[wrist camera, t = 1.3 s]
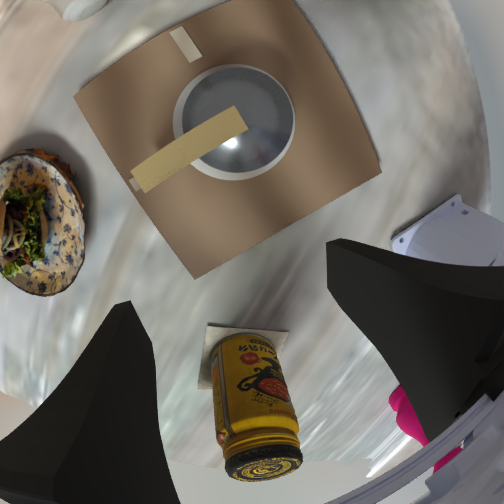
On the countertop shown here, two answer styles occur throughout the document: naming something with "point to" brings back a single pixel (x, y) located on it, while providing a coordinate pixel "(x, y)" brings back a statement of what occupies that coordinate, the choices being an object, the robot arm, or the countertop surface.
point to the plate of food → (40, 223)
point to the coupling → (225, 127)
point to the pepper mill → (415, 424)
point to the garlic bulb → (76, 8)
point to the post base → (213, 180)
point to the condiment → (250, 402)
